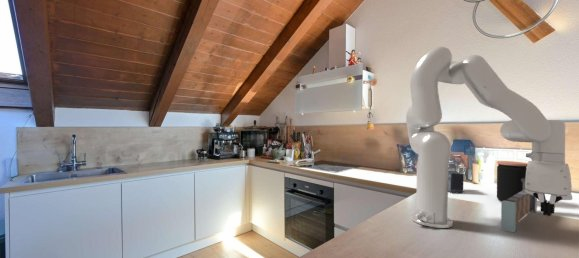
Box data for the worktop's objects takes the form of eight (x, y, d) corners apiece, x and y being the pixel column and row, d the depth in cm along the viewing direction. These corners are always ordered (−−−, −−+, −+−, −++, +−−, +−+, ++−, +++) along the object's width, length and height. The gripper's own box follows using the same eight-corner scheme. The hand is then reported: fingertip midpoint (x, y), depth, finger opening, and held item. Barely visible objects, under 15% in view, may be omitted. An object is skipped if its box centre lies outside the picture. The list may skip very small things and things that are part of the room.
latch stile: (513, 232, 79) (513, 203, 79) (501, 229, 81) (501, 201, 81) (515, 230, 81) (515, 202, 81) (503, 227, 83) (504, 200, 83)
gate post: (536, 214, 97) (536, 180, 97) (520, 211, 101) (521, 178, 101) (538, 212, 100) (538, 179, 100) (523, 209, 103) (523, 177, 104)
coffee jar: (531, 206, 107) (531, 164, 107) (498, 202, 113) (499, 162, 113) (524, 201, 116) (524, 162, 116) (494, 197, 122) (495, 160, 122)
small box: (464, 194, 128) (464, 173, 128) (450, 193, 129) (450, 173, 129) (455, 189, 138) (455, 170, 138) (442, 188, 140) (442, 169, 140)
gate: (514, 226, 82) (514, 201, 82) (506, 225, 83) (506, 199, 83) (531, 211, 98) (531, 190, 98) (524, 210, 99) (524, 189, 99)
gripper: (514, 156, 85) (513, 210, 85) (581, 161, 73) (581, 224, 73) (520, 155, 89) (519, 207, 89) (584, 159, 77) (584, 219, 77)
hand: (547, 214), depth 81 cm, fingers closed
